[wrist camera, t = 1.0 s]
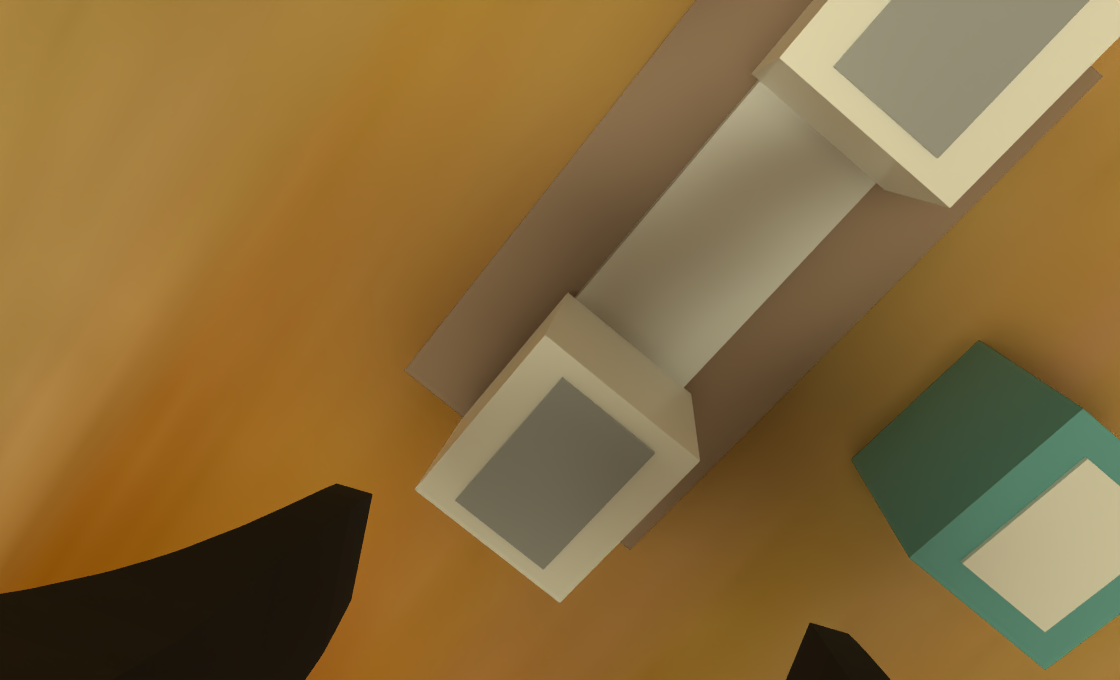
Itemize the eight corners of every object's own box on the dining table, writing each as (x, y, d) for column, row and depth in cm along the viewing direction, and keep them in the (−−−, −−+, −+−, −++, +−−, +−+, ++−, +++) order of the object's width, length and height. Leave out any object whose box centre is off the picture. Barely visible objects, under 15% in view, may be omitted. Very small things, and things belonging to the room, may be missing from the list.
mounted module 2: (1044, 21, 16) (1172, -14, 12) (884, 190, 17) (952, 208, 13) (903, -108, 16) (986, -188, 12) (751, 73, 17) (780, 57, 13)
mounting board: (1078, 79, 18) (1122, 73, 16) (631, 531, 22) (629, 564, 20) (821, -156, 17) (839, -186, 15) (415, 359, 22) (395, 379, 20)
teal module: (1089, 435, 20) (1230, 536, 15) (956, 547, 21) (1047, 673, 16) (978, 339, 20) (1086, 410, 15) (850, 459, 21) (910, 560, 16)
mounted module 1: (691, 393, 19) (700, 462, 15) (577, 512, 20) (559, 605, 16) (567, 292, 19) (544, 335, 15) (460, 420, 20) (412, 491, 16)
